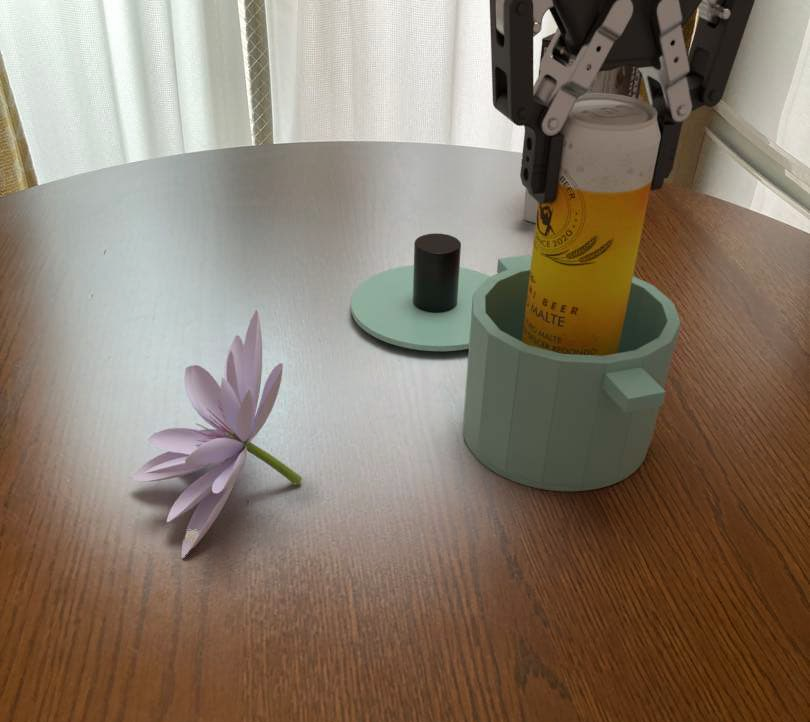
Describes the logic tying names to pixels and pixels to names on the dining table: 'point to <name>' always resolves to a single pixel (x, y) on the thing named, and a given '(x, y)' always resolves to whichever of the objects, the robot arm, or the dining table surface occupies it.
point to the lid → (421, 299)
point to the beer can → (592, 227)
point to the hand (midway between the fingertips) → (594, 190)
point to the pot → (563, 390)
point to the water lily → (218, 433)
